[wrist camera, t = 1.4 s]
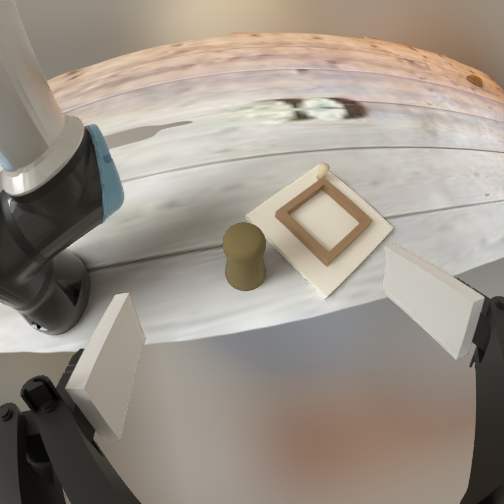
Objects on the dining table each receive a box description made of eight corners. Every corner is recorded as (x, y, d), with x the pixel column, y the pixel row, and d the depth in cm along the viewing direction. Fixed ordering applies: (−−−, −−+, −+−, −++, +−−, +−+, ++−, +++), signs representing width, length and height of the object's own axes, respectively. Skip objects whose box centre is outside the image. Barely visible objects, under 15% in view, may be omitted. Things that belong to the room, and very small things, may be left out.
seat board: (245, 218, 47) (245, 204, 44) (318, 167, 52) (322, 152, 49) (324, 299, 42) (332, 290, 38) (390, 231, 47) (400, 218, 43)
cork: (224, 254, 45) (217, 215, 35) (263, 252, 45) (267, 213, 35) (225, 292, 42) (218, 262, 32) (267, 289, 42) (272, 259, 32)
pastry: (472, 85, 81) (475, 79, 77) (463, 76, 83) (466, 70, 80) (482, 88, 82) (485, 82, 78) (473, 79, 84) (476, 73, 81)
